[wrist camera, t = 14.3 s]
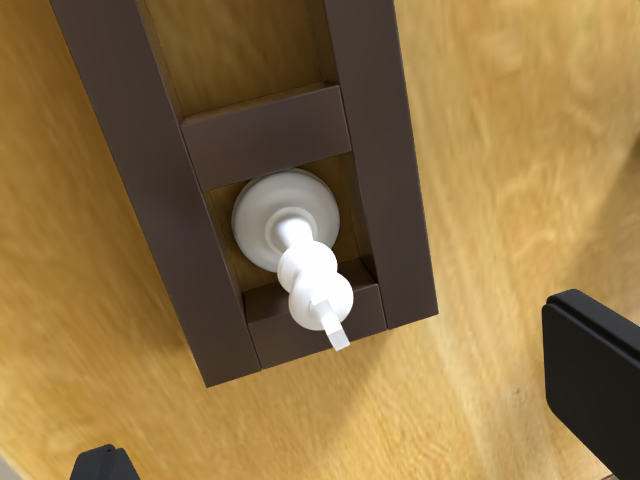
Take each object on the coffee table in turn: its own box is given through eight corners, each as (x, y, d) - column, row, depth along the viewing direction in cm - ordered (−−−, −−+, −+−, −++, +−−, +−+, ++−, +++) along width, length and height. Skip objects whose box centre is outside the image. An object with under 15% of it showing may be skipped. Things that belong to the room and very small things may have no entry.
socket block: (207, 349, 23) (206, 388, 20) (26, -117, 16) (-15, -155, 13) (414, 285, 24) (439, 314, 22) (338, -179, 17) (362, -225, 14)
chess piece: (260, 285, 23) (291, 440, 13) (211, 196, 21) (208, 306, 11) (353, 241, 23) (446, 364, 14) (313, 148, 21) (391, 218, 12)
